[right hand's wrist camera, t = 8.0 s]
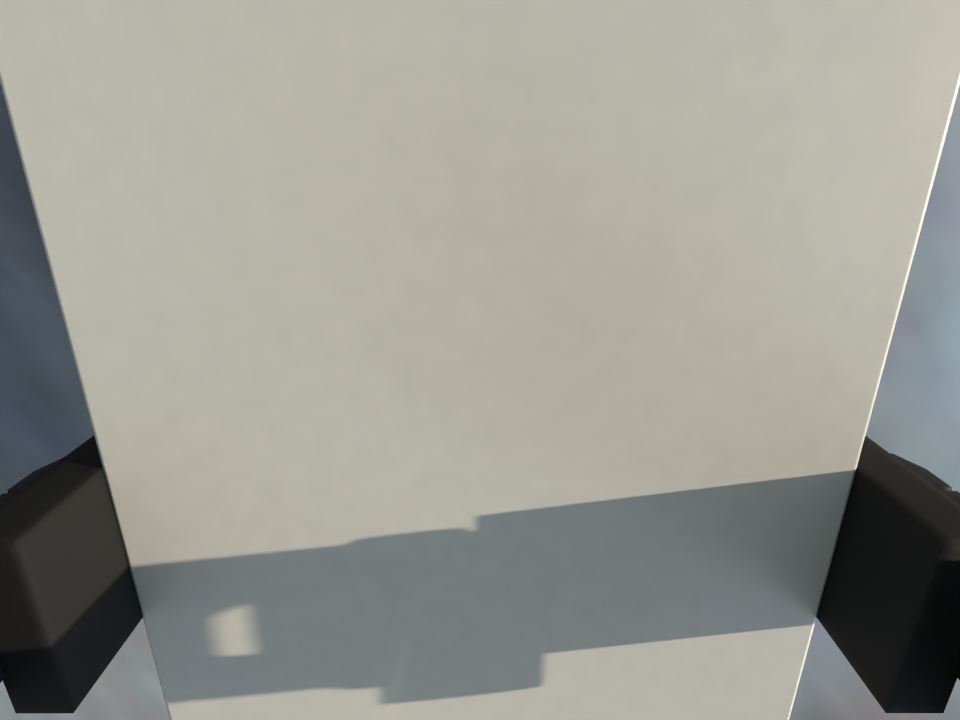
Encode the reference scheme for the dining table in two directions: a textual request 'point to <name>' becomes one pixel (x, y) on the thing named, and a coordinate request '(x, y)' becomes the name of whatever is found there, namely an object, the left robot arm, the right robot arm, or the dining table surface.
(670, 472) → the cabinet
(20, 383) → the dining table surface
